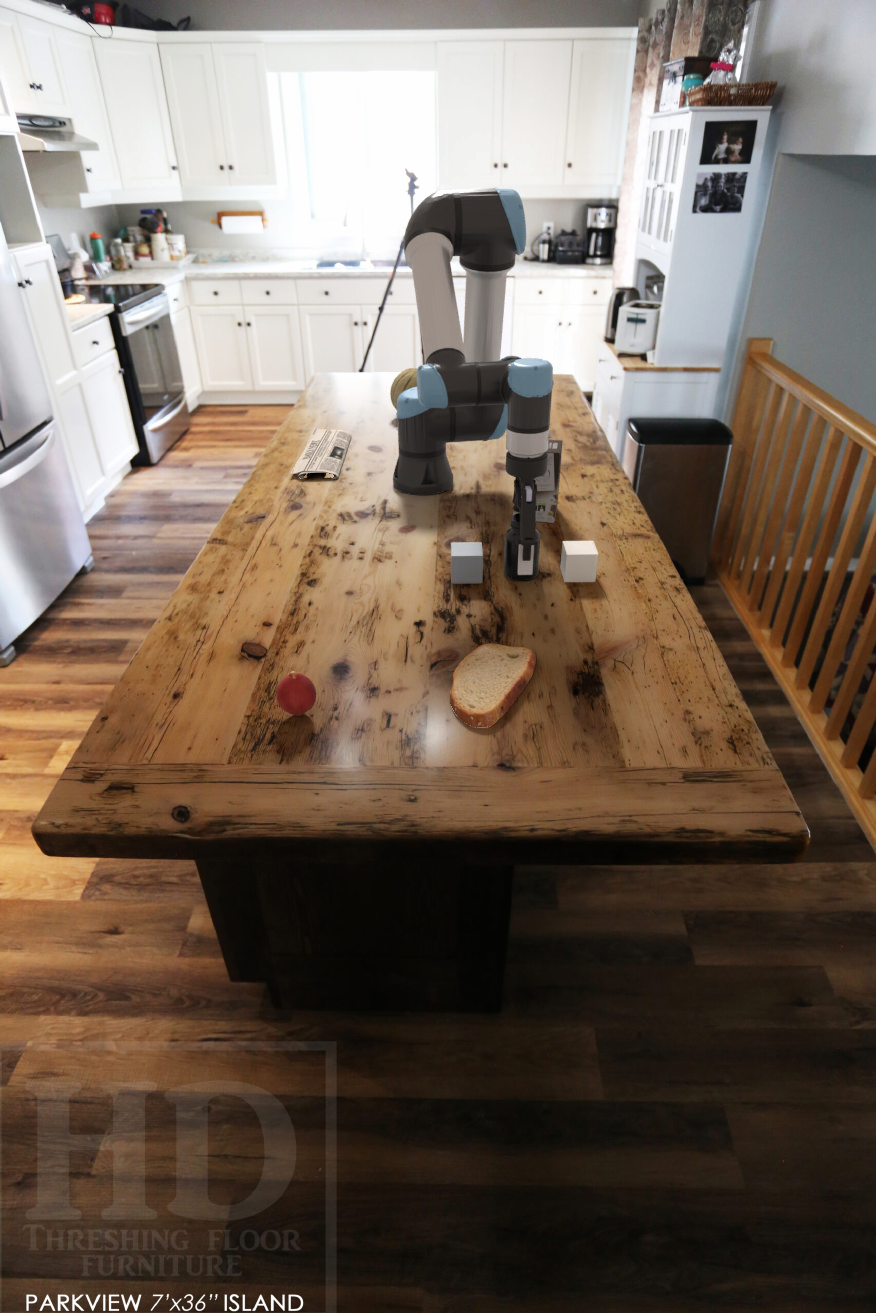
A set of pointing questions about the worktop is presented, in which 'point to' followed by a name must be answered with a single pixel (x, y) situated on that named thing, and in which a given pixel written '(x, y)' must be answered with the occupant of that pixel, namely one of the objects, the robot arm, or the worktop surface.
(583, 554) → the off-white block
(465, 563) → the slate-grey block
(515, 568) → the supplement bottle
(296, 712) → the onion
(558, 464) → the coffee box
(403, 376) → the cantaloupe
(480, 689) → the bread slice
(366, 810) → the worktop surface
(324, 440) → the newspaper
